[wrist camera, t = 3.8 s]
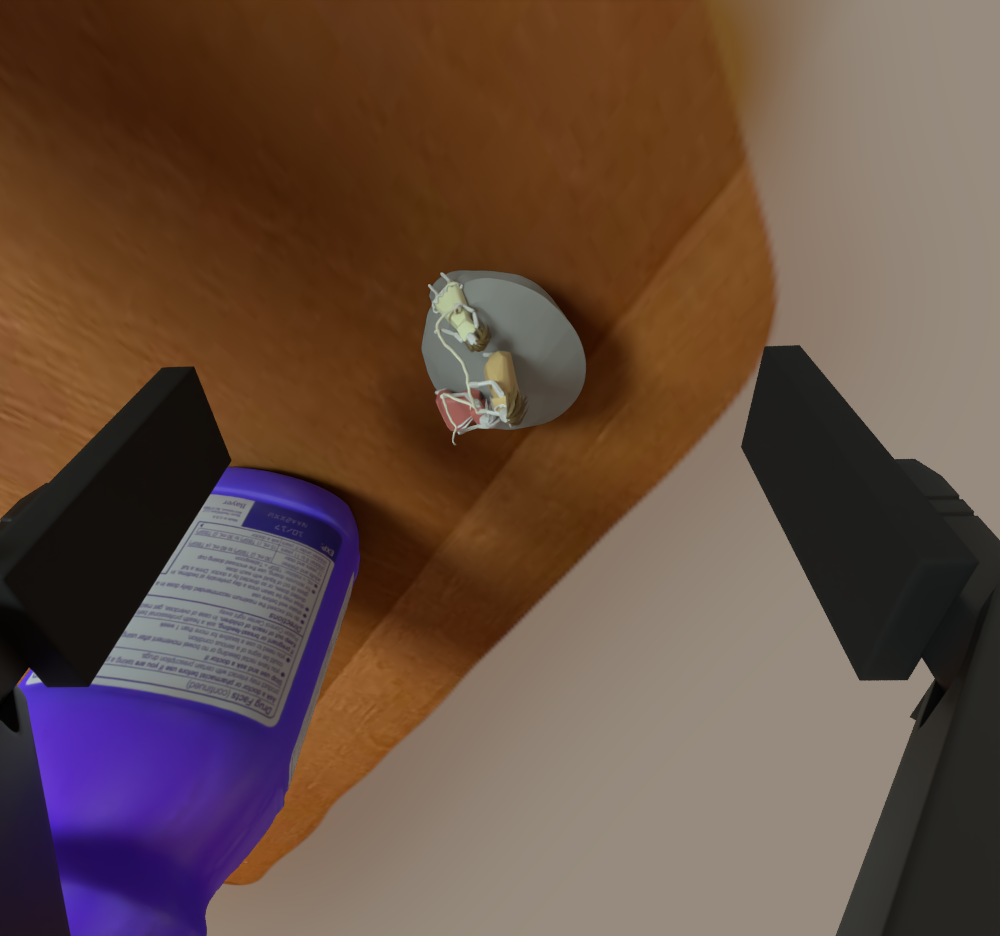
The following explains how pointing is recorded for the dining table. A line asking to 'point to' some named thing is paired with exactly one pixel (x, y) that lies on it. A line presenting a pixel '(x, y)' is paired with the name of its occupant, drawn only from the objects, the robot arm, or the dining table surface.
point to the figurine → (499, 352)
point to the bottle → (196, 709)
